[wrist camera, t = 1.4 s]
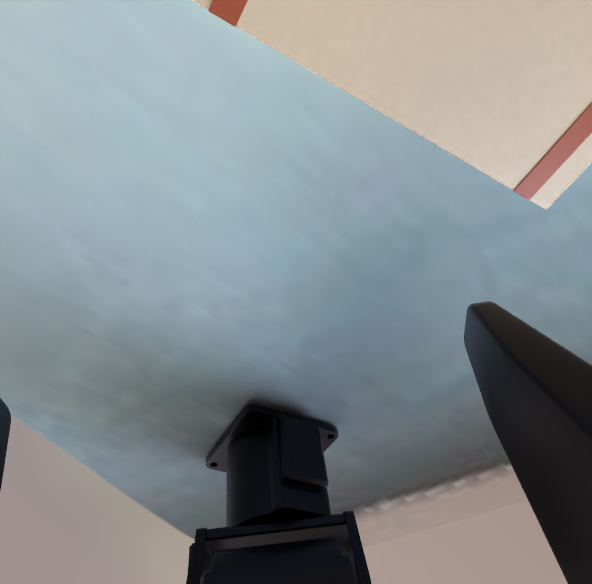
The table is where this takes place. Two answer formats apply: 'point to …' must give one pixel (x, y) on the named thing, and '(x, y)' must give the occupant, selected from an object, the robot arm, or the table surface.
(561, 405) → the robot arm
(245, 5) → the napkin
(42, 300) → the table surface
